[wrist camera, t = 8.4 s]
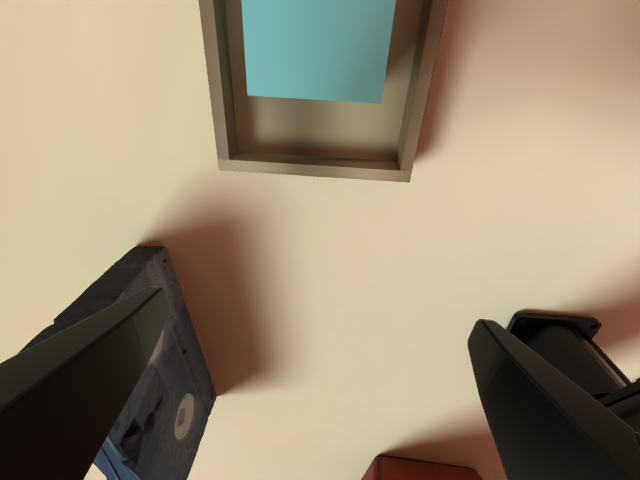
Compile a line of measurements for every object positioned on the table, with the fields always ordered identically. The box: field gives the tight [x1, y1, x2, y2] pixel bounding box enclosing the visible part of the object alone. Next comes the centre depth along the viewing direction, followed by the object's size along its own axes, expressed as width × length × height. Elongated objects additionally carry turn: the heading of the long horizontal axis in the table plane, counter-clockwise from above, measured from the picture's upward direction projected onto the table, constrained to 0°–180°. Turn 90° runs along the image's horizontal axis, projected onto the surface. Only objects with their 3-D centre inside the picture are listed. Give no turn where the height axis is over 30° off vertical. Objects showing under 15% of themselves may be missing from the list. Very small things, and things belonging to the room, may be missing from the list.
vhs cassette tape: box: [18, 246, 217, 480], centre depth 22 cm, size 18×3×10 cm, turn 0°
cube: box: [241, 0, 396, 104], centre depth 12 cm, size 5×5×5 cm
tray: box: [199, 0, 448, 182], centre depth 14 cm, size 10×13×2 cm
